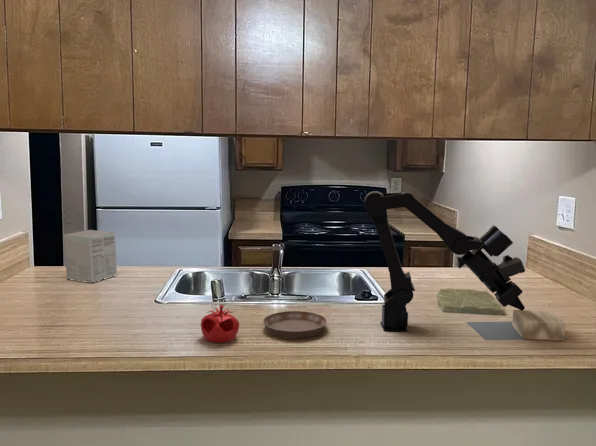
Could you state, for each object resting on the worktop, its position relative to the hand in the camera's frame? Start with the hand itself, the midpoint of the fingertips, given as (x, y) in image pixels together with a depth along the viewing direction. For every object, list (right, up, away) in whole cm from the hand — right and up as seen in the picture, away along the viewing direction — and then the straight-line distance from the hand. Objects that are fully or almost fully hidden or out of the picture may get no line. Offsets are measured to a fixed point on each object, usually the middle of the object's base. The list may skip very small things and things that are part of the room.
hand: (523, 309), depth 141 cm
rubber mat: (-1, -7, +3) cm, 8 cm away
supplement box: (-140, +2, +57) cm, 152 cm away
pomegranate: (-82, -8, -4) cm, 82 cm away
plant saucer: (-62, -7, +4) cm, 63 cm away
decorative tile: (-7, -4, +27) cm, 28 cm away
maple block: (-1, -4, +1) cm, 4 cm away
